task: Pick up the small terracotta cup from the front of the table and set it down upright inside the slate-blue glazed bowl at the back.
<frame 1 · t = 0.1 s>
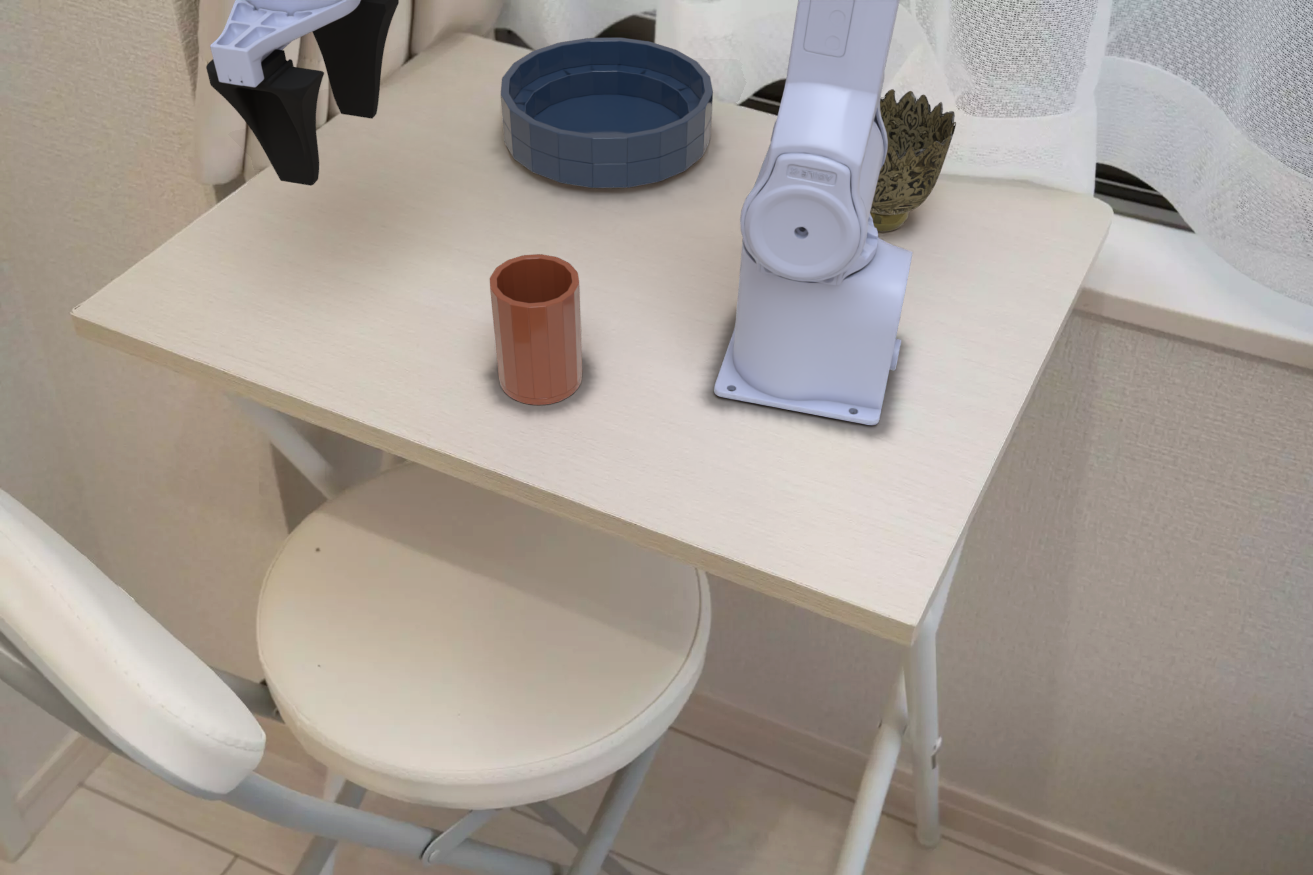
hand: (330, 145, 68), 10 cm above the table, tool pointing down, fingers open, 7 cm apart
bowl: (607, 140, 88), on the table
cup: (540, 377, 69), on the table
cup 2: (879, 223, 81), on the table
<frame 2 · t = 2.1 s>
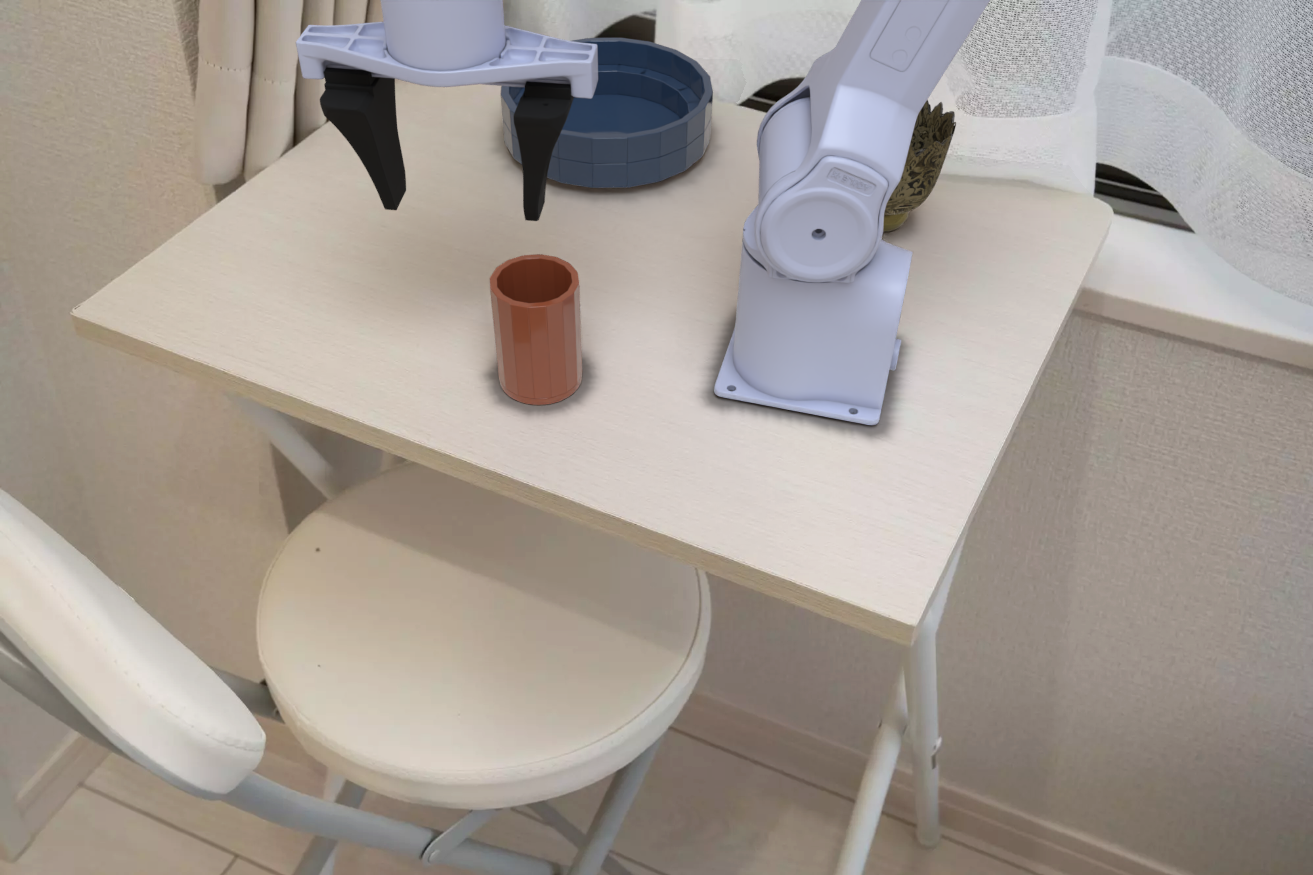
hand: (464, 205, 64), 10 cm above the table, tool pointing down, fingers open, 7 cm apart
nothing on the table moved.
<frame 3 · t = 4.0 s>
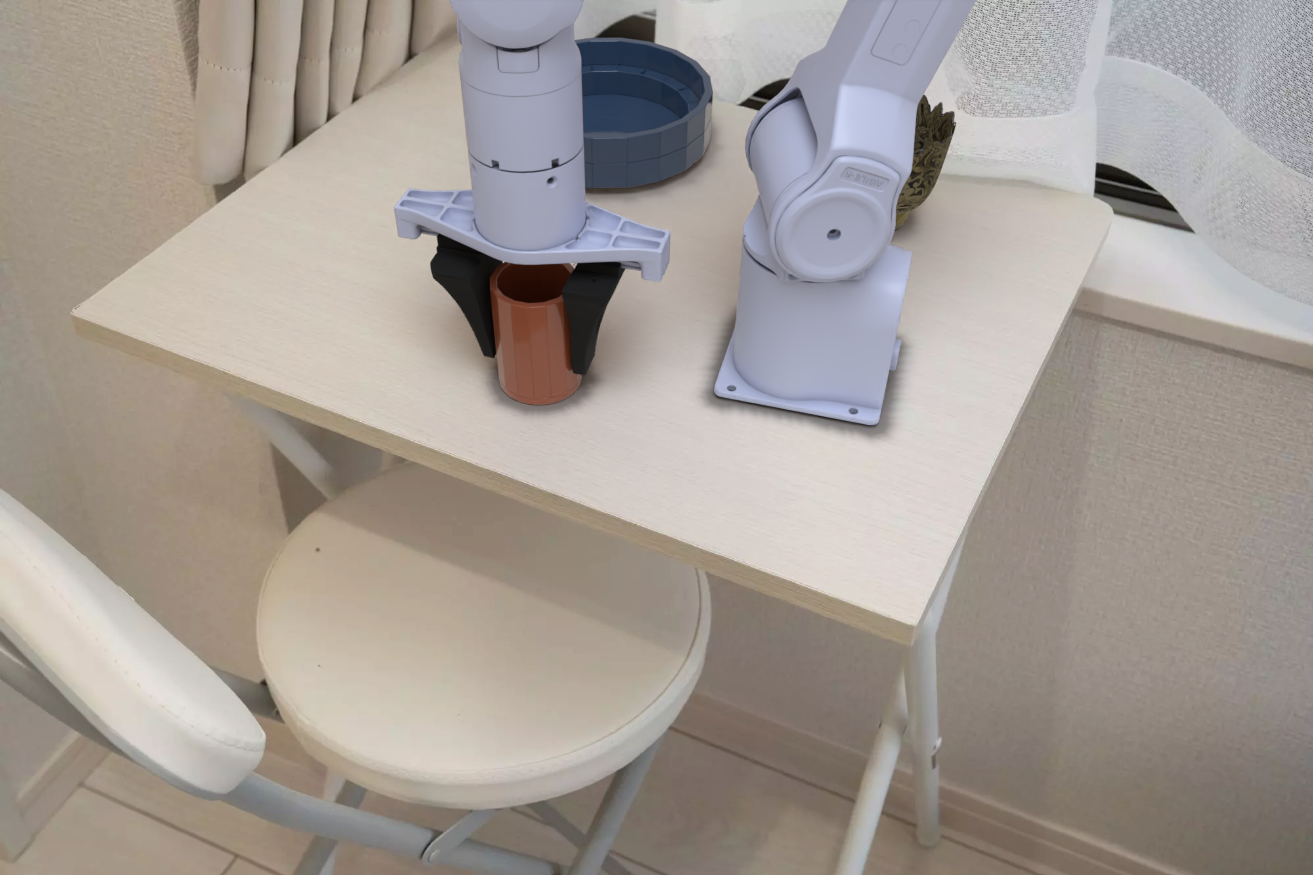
hand: (539, 355, 67), 2 cm above the table, tool pointing down, fingers closed on cup, 5 cm apart
cup: (540, 377, 69), on the table, touching gripper
everything else where it was.
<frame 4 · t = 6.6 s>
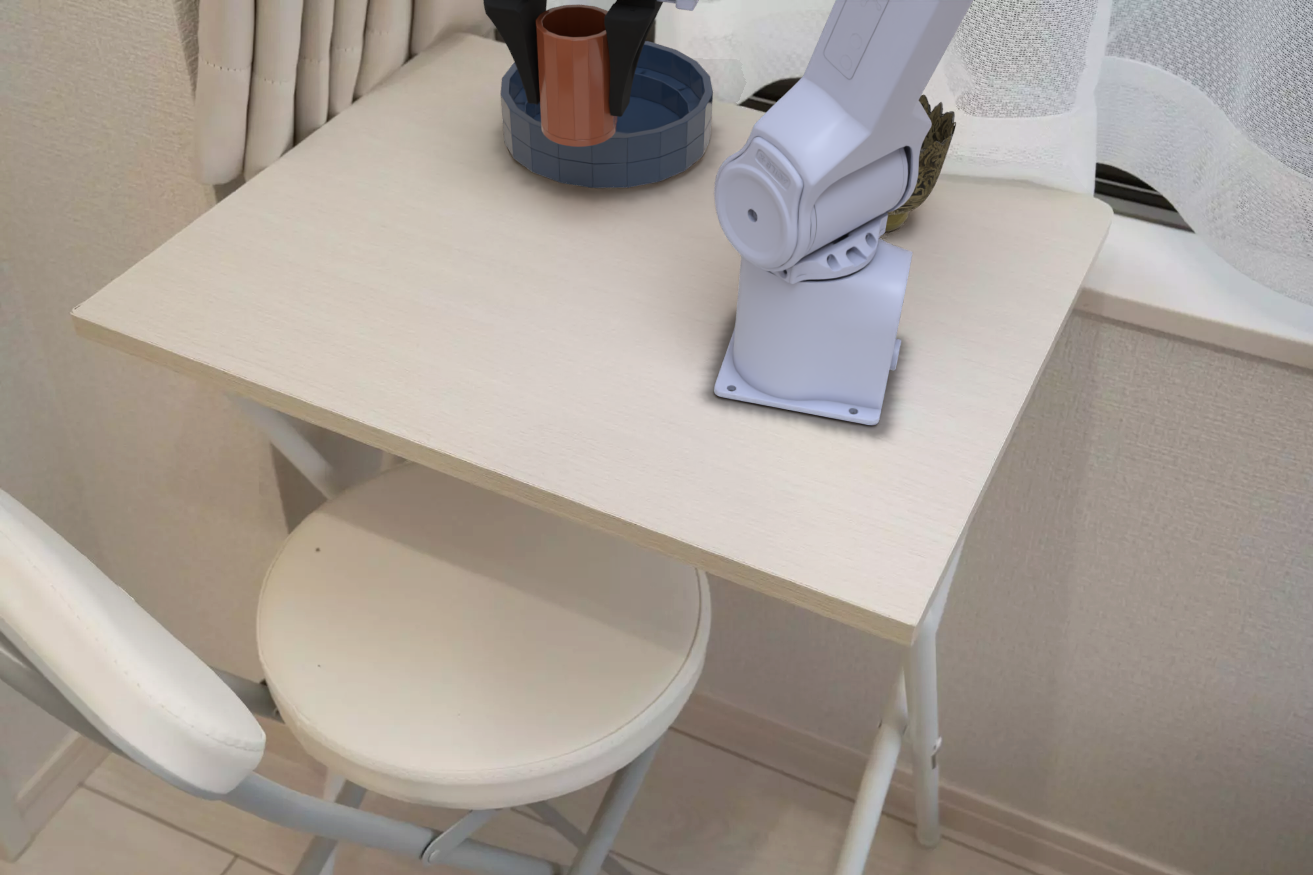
hand: (579, 102, 74), 9 cm above the table, tool pointing down, fingers closed on cup, 5 cm apart
cup: (579, 127, 75), point 7 cm above the table, touching gripper
everything else where it was.
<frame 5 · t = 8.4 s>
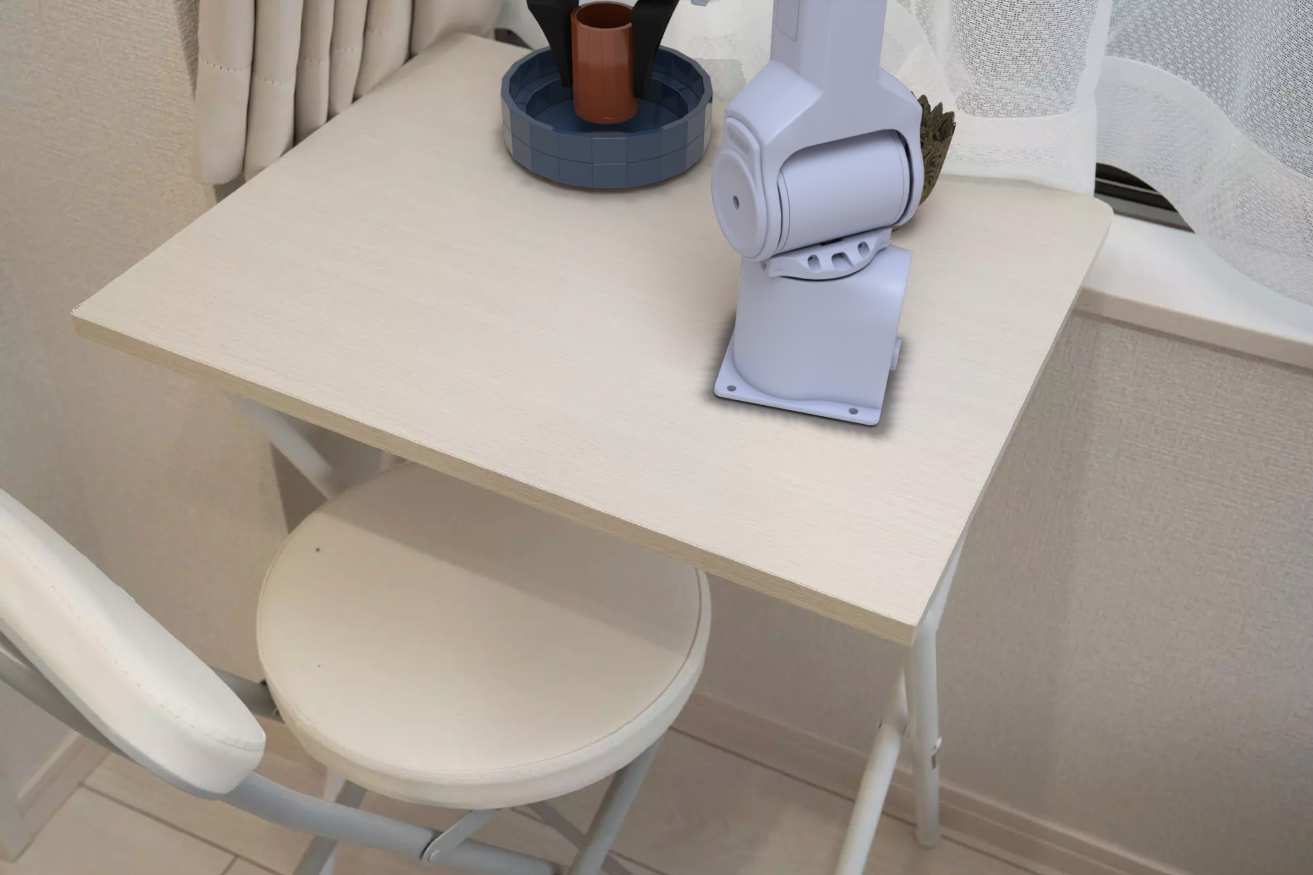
hand: (606, 86, 85), 4 cm above the table, tool pointing down, fingers closed on cup, 5 cm apart
cup: (606, 108, 86), point 3 cm above the table, touching gripper
everything else where it was.
when the fingers open (2 cm above the table, at t = 9.6 s): cup stays where it is, resting on bowl.
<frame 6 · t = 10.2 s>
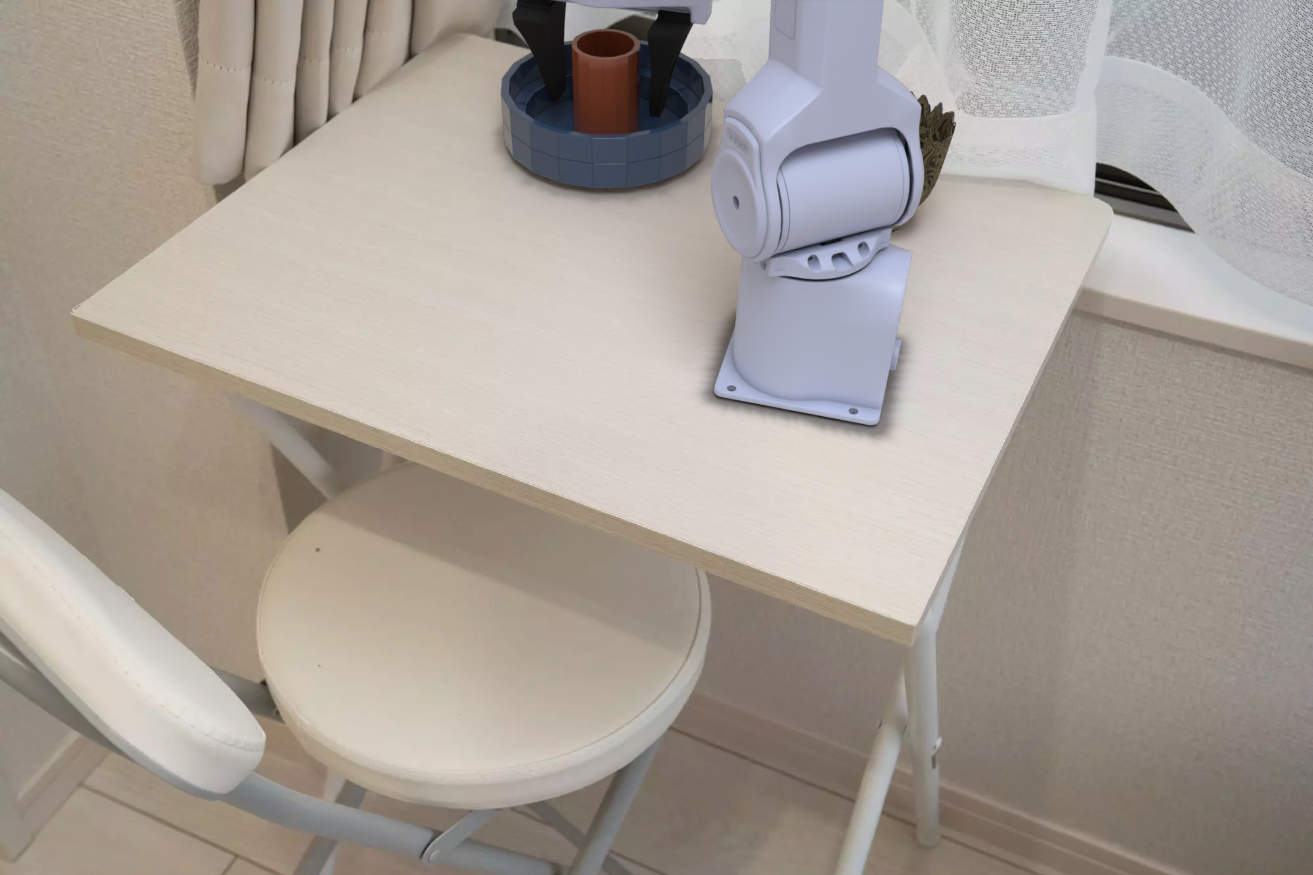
hand: (607, 103, 86), 3 cm above the table, tool pointing down, fingers open, 7 cm apart
cup: (606, 133, 88), point 1 cm above the table, touching bowl
everything else where it was.
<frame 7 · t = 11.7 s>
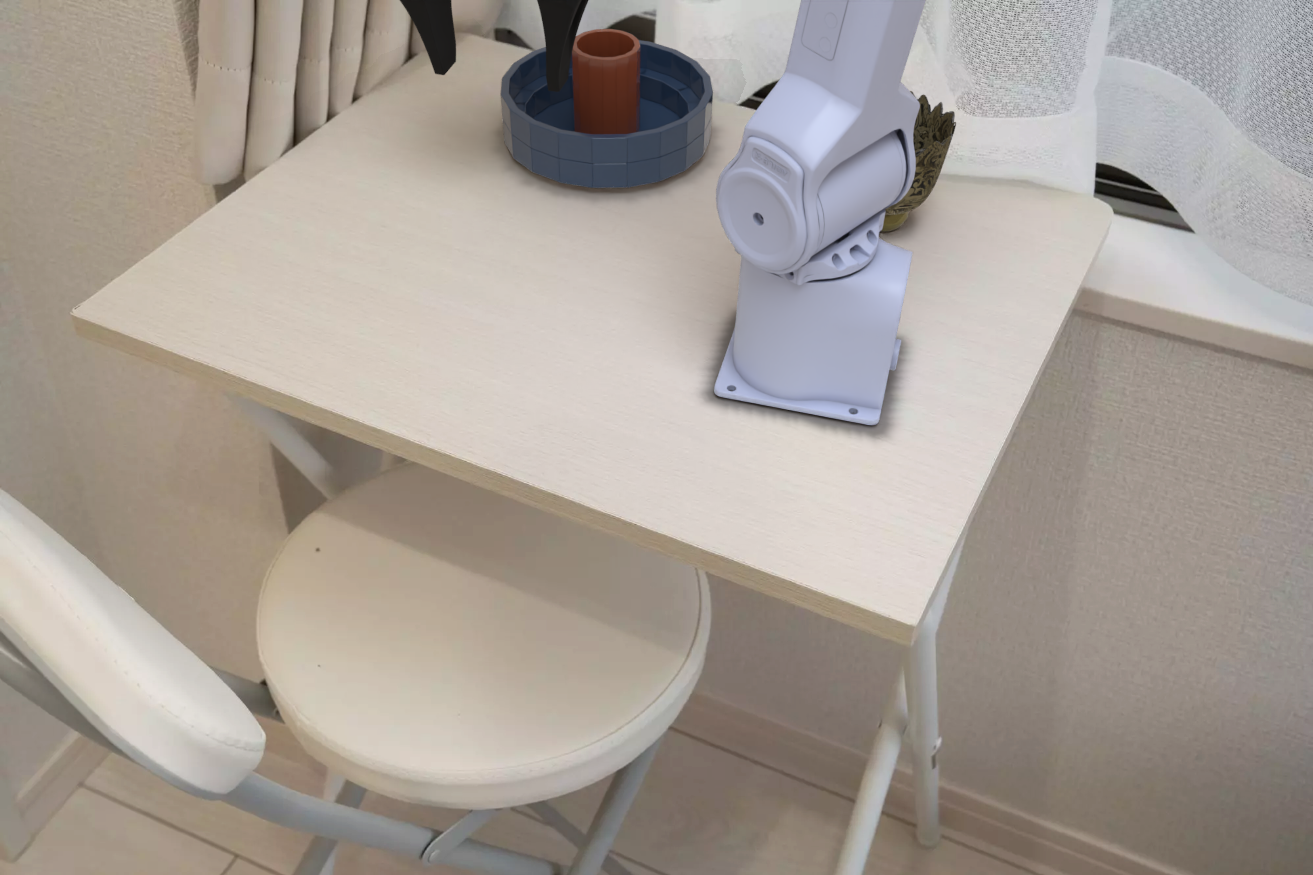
hand: (501, 76, 75), 9 cm above the table, tool pointing down, fingers open, 7 cm apart
nothing on the table moved.
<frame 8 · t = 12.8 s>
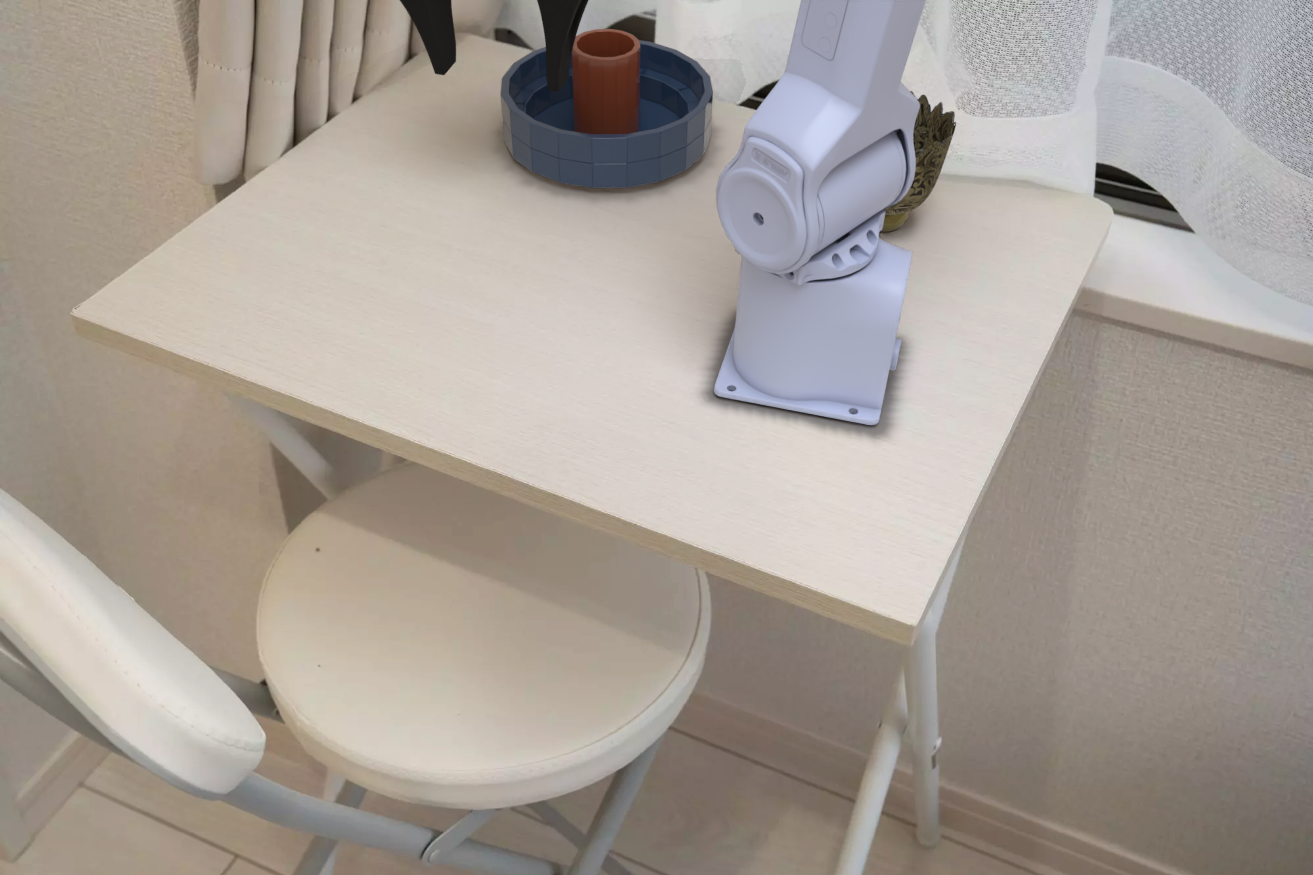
hand: (501, 76, 75), 9 cm above the table, tool pointing down, fingers open, 7 cm apart
nothing on the table moved.
at the end: cup 0.0 cm off-centre in the bowl, point 0.6 cm above the bowl's base; cup tilted 0°; the gripper is holding nothing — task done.
